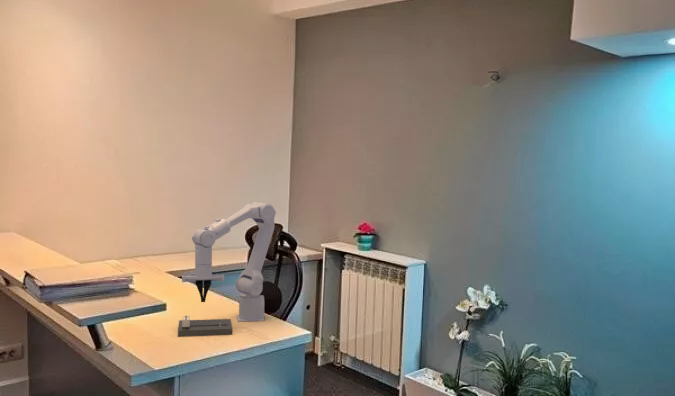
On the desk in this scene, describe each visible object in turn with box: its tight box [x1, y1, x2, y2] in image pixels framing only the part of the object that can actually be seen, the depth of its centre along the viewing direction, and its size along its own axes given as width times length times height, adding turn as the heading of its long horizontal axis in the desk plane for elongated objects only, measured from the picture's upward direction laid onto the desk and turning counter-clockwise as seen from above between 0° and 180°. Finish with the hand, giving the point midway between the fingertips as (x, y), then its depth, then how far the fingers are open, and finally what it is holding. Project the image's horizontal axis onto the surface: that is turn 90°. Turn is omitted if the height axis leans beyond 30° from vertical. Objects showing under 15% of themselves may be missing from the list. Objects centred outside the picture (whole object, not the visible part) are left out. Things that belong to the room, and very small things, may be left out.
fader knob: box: [181, 315, 191, 327], centre depth 203 cm, size 2×5×3 cm, turn 13°
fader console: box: [177, 318, 233, 338], centre depth 205 cm, size 18×12×2 cm, turn 103°
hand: (203, 301), depth 208 cm, fingers closed
